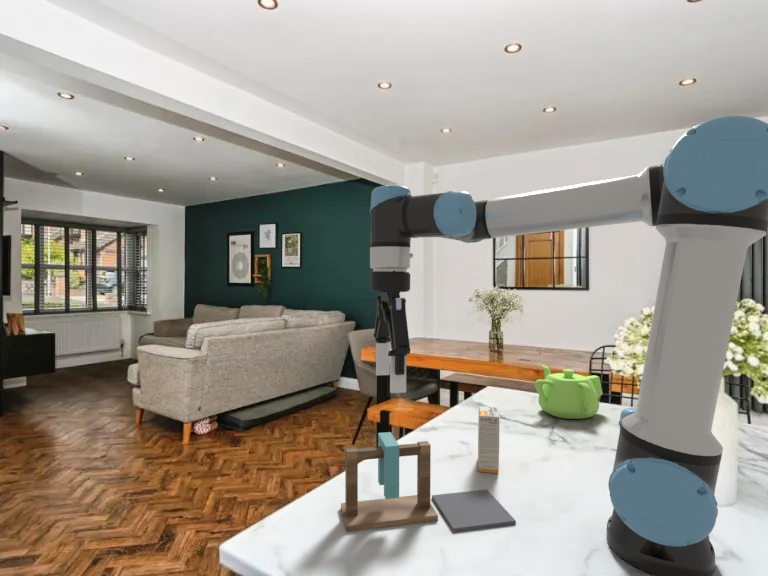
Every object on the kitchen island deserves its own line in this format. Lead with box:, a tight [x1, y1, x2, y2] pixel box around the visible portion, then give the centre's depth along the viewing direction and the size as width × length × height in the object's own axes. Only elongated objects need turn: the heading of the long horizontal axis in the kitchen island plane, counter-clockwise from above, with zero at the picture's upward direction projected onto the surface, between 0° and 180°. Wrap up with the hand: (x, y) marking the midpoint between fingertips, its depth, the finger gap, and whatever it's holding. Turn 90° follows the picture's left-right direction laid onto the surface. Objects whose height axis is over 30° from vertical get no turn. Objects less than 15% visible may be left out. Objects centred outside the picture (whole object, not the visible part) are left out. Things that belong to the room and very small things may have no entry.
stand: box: [340, 440, 439, 533], centre depth 84 cm, size 8×17×13 cm, turn 102°
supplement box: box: [477, 406, 500, 474], centre depth 105 cm, size 8×5×13 cm, turn 168°
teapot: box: [534, 364, 604, 420], centre depth 145 cm, size 19×20×14 cm
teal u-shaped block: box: [377, 431, 400, 499], centre depth 84 cm, size 7×2×10 cm, turn 12°
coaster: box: [431, 489, 517, 533], centre depth 85 cm, size 12×12×1 cm
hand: (389, 383), depth 84 cm, fingers open, 13 cm apart
